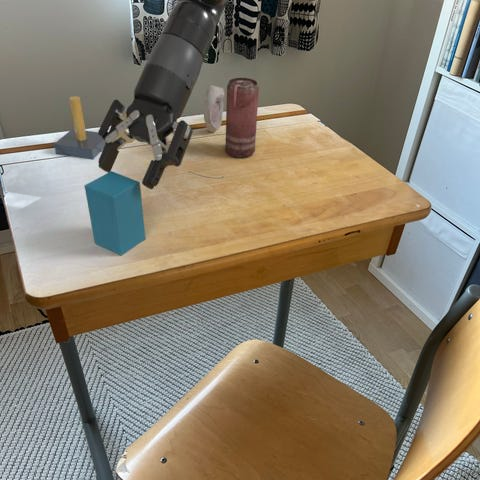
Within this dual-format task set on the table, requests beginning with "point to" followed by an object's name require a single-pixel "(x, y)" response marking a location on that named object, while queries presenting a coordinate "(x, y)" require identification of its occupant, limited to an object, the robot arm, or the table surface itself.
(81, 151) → the peg stand
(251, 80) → the can
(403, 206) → the table surface
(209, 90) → the fossil
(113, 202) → the tall teal pillar
